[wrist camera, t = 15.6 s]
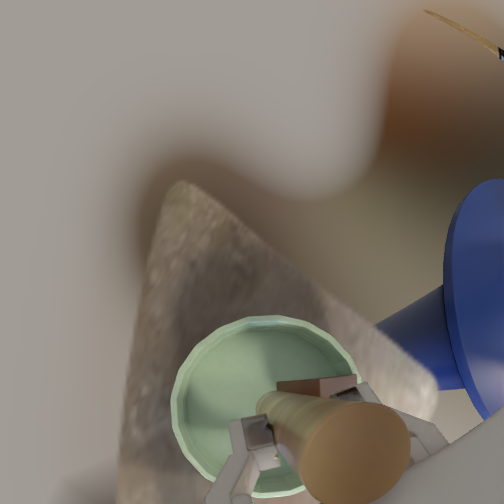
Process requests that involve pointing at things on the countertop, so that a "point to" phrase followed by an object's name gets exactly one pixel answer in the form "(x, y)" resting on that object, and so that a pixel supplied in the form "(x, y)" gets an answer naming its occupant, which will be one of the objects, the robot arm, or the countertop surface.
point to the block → (318, 385)
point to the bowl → (247, 387)
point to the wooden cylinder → (338, 445)
